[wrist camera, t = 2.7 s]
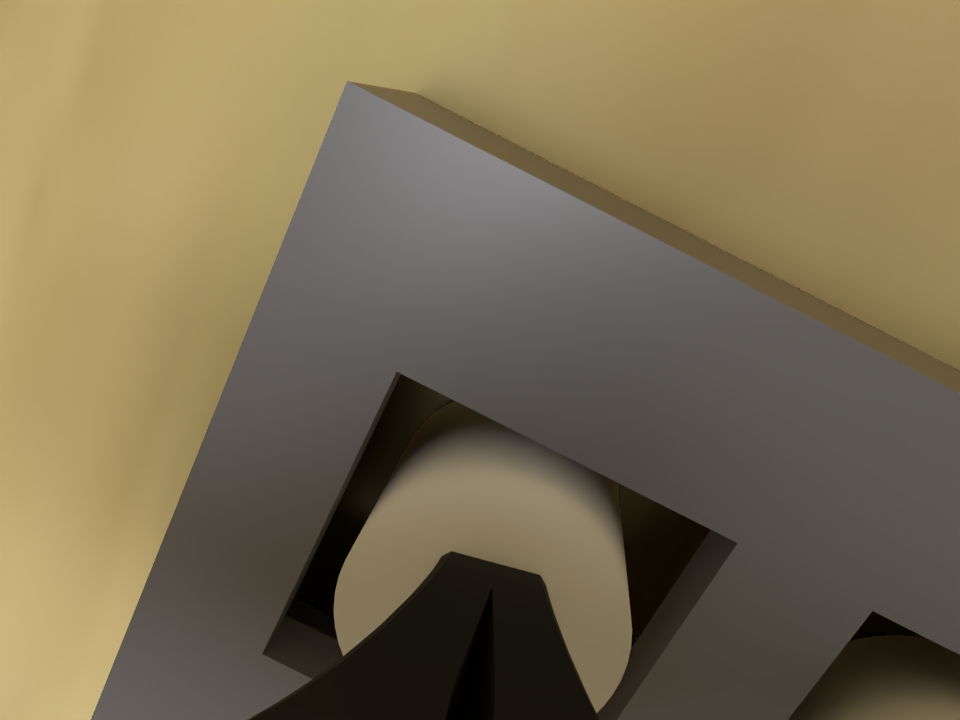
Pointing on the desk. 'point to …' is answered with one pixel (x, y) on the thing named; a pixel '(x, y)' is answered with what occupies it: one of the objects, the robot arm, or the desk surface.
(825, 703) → the button
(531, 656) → the robot arm
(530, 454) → the button
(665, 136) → the desk surface
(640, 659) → the grey slotted tray
